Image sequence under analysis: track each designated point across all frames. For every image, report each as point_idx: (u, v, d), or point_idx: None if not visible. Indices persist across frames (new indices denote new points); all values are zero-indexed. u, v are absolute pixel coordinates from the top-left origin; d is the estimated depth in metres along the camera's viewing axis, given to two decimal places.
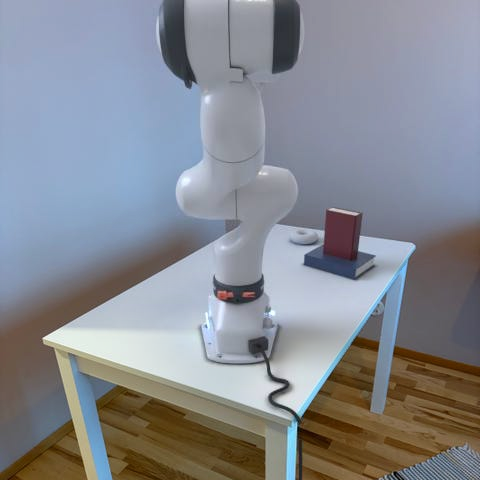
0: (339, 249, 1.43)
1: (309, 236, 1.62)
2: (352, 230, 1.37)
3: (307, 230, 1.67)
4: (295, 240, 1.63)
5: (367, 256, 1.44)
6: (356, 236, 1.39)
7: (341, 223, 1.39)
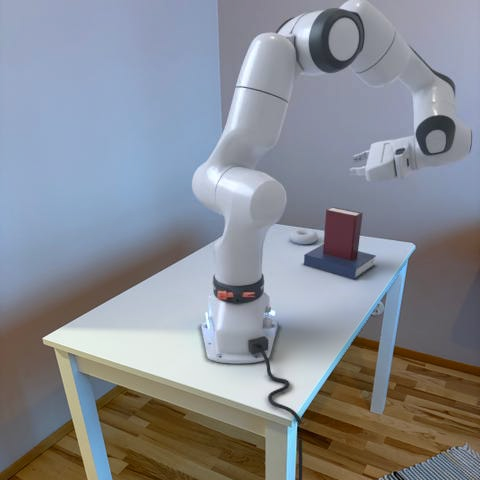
0: (339, 249, 1.43)
1: (309, 236, 1.62)
2: (352, 230, 1.37)
3: (307, 230, 1.67)
4: (295, 240, 1.63)
5: (367, 256, 1.44)
6: (356, 236, 1.39)
7: (341, 223, 1.39)
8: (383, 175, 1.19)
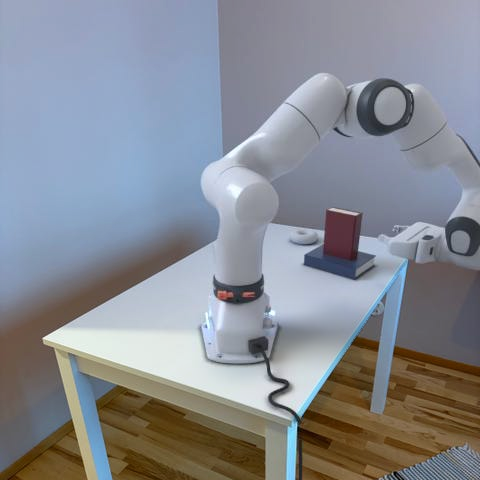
0: (339, 249, 1.43)
1: (309, 236, 1.62)
2: (352, 230, 1.37)
3: (307, 230, 1.67)
4: (295, 240, 1.63)
5: (367, 256, 1.44)
6: (356, 236, 1.39)
7: (341, 223, 1.39)
8: (402, 252, 1.21)
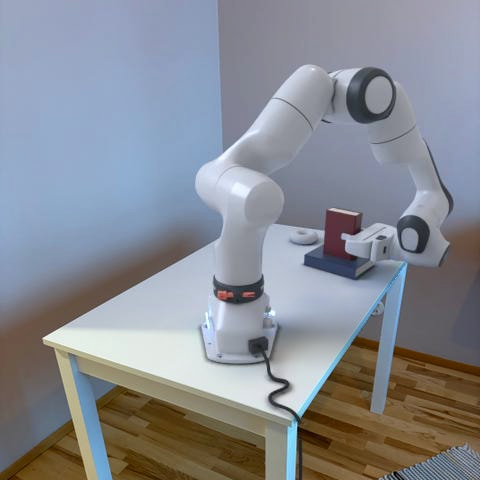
0: (339, 249, 1.43)
1: (309, 236, 1.62)
2: (352, 230, 1.37)
3: (307, 230, 1.67)
4: (295, 240, 1.63)
5: None
6: None
7: (341, 223, 1.39)
8: (358, 251, 1.30)
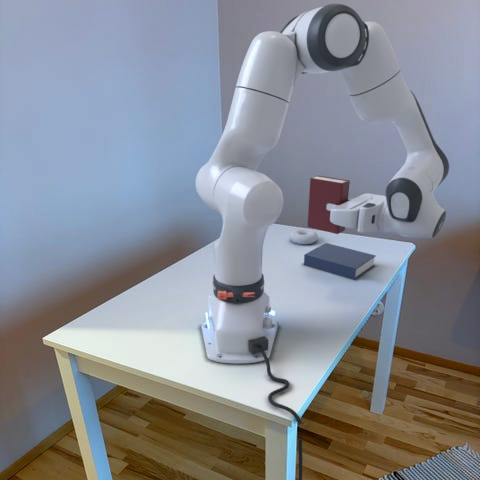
0: (325, 222, 1.30)
1: (309, 236, 1.62)
2: (339, 199, 1.25)
3: (307, 230, 1.67)
4: (295, 240, 1.63)
5: (367, 256, 1.44)
6: None
7: (326, 192, 1.26)
8: (344, 221, 1.17)
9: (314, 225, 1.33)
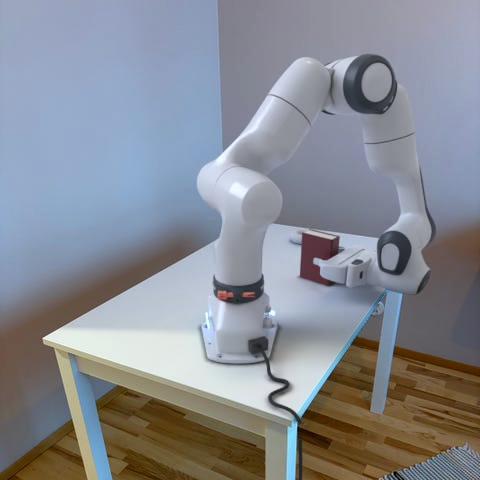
0: (316, 273, 1.36)
1: None
2: (329, 254, 1.30)
3: (307, 230, 1.67)
4: (295, 240, 1.63)
5: None
6: None
7: (317, 247, 1.32)
8: (333, 276, 1.23)
9: (306, 276, 1.39)
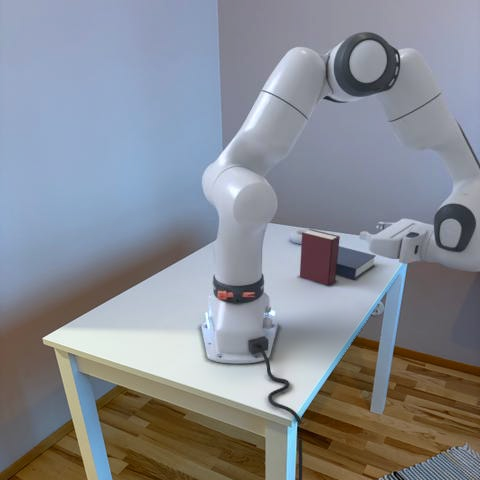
0: (316, 273, 1.36)
1: None
2: (329, 254, 1.30)
3: (307, 230, 1.67)
4: (295, 240, 1.63)
5: (367, 256, 1.44)
6: (333, 261, 1.32)
7: (317, 247, 1.32)
8: (385, 251, 1.10)
9: (306, 276, 1.39)
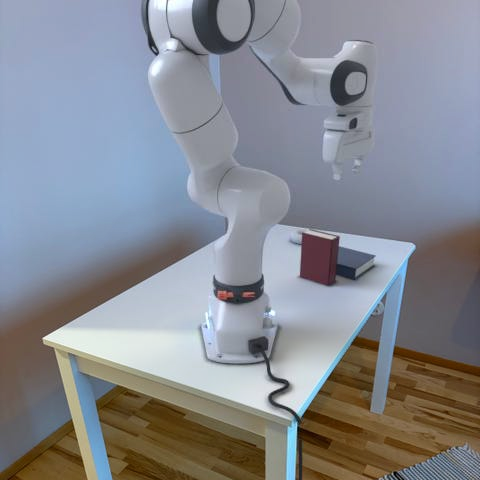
0: (316, 273, 1.36)
1: None
2: (329, 254, 1.30)
3: (307, 230, 1.67)
4: (295, 240, 1.63)
5: (367, 256, 1.44)
6: (333, 261, 1.32)
7: (317, 247, 1.32)
8: (333, 144, 1.08)
9: (306, 276, 1.39)
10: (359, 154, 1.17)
